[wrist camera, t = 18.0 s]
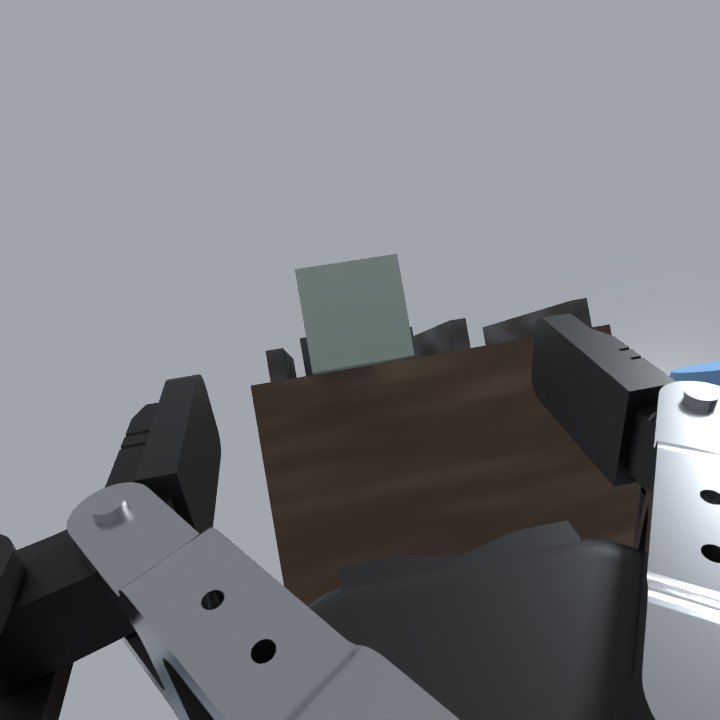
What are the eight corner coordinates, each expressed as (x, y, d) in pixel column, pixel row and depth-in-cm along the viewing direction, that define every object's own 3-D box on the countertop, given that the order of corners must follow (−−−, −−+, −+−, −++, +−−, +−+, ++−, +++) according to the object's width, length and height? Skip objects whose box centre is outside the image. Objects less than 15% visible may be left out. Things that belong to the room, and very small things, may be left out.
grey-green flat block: (448, 454, 15) (413, 251, 16) (312, 479, 15) (277, 272, 15) (364, 407, 41) (351, 330, 41) (313, 416, 41) (300, 339, 41)
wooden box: (726, 967, 26) (604, 295, 27) (365, 1074, 24) (245, 354, 25) (582, 762, 40) (504, 323, 41) (346, 821, 38) (269, 363, 39)
